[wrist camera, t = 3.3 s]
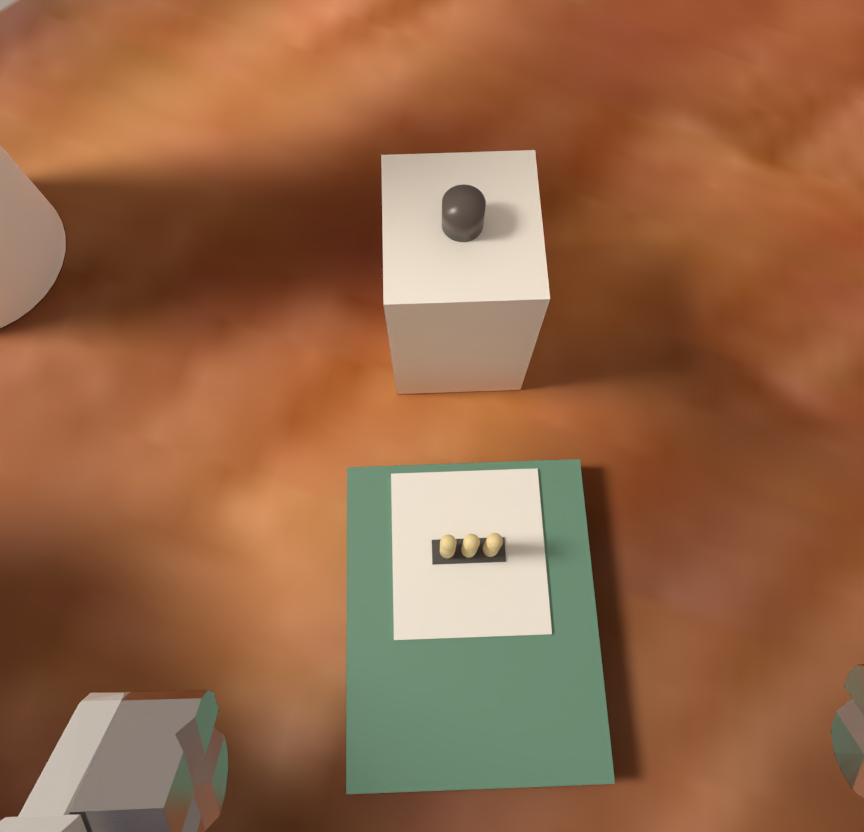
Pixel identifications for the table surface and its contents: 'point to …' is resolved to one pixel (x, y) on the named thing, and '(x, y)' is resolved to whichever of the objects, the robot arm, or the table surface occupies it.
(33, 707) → the table surface
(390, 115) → the table surface
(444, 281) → the block
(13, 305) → the cylindrical container
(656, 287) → the table surface
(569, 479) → the header board
